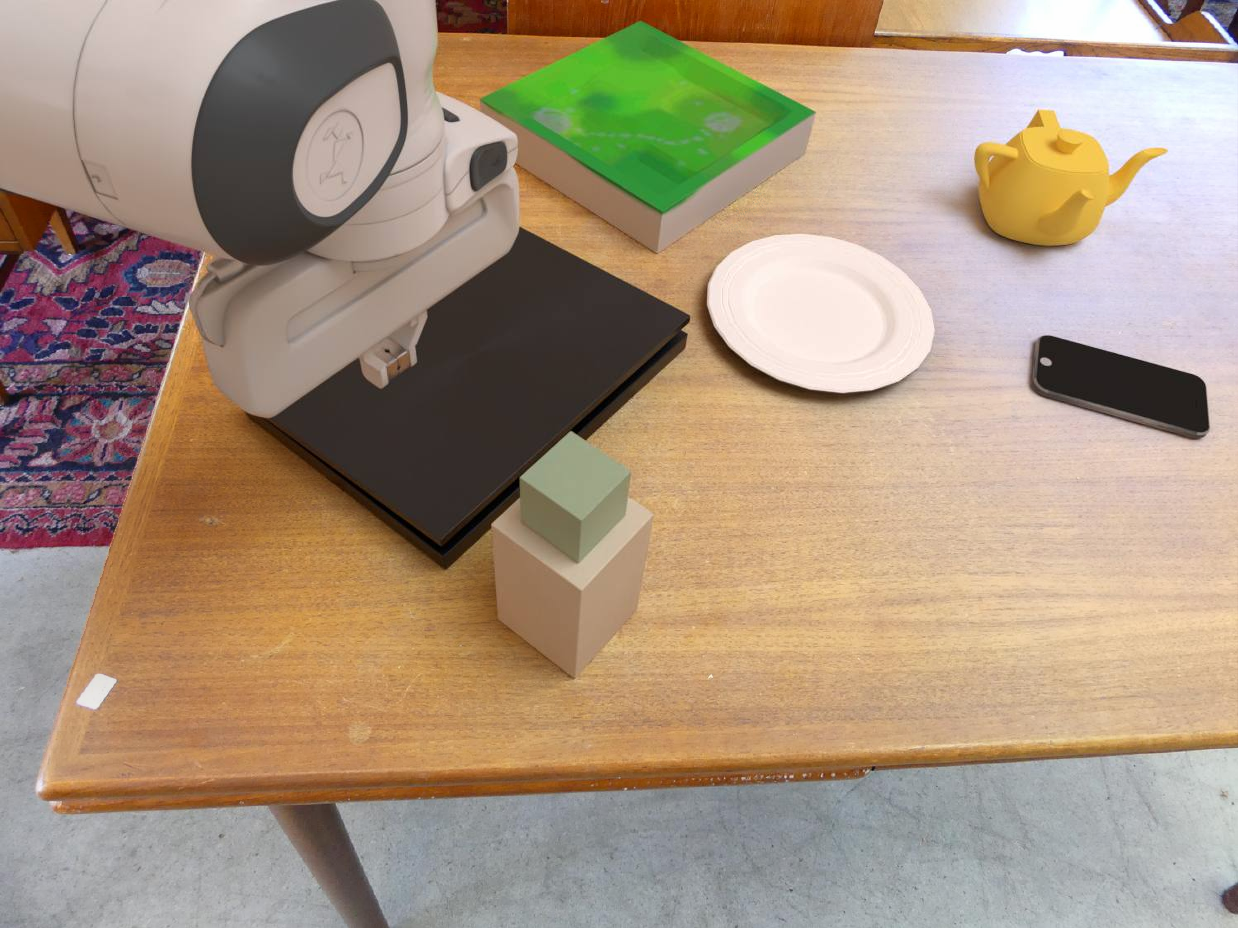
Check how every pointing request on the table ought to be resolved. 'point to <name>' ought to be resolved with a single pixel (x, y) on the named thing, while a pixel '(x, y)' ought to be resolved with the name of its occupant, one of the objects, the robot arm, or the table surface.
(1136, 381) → the smartphone
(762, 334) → the plate
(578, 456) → the block
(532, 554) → the stand
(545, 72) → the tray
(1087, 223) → the teapot
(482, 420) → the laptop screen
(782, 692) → the table surface
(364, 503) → the laptop
